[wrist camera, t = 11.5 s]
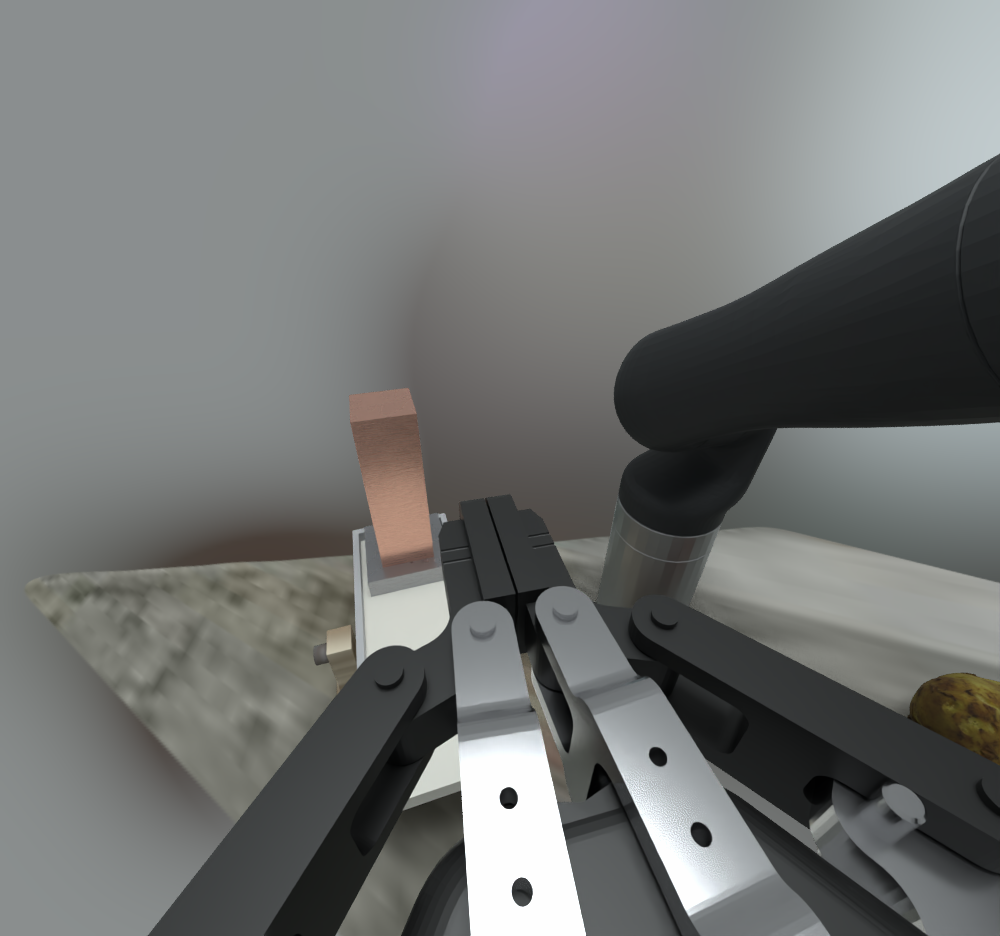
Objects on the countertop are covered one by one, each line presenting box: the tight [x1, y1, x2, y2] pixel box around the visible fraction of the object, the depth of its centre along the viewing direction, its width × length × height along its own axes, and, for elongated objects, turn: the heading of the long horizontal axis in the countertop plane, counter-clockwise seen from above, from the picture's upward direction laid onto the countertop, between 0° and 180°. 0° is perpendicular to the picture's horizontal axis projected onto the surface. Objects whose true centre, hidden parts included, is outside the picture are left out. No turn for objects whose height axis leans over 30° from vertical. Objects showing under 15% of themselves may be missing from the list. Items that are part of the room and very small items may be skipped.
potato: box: [907, 673, 1000, 765], centre depth 37 cm, size 8×13×8 cm, turn 84°
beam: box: [353, 513, 461, 810], centre depth 39 cm, size 26×10×3 cm, turn 17°
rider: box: [349, 388, 444, 597], centre depth 41 cm, size 8×8×18 cm
